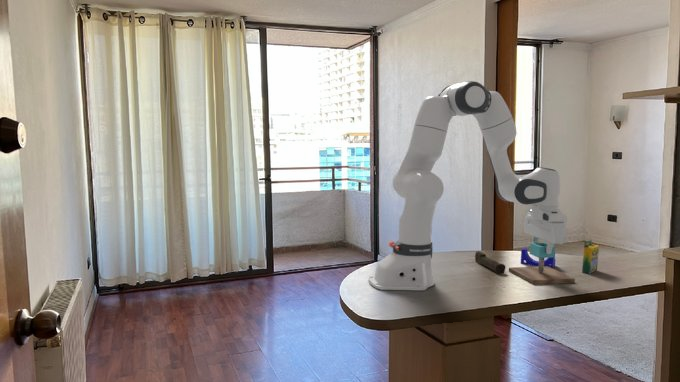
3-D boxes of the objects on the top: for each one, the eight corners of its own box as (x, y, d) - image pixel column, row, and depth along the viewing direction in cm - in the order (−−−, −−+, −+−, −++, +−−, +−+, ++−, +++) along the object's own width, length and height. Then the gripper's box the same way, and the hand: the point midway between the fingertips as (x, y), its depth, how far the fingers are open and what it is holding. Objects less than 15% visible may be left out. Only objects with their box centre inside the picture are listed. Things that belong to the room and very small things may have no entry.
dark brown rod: (505, 274, 180) (506, 262, 180) (495, 274, 180) (496, 262, 179) (481, 261, 199) (482, 250, 198) (472, 261, 198) (473, 250, 198)
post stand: (532, 284, 168) (534, 257, 167) (508, 271, 183) (510, 246, 182) (574, 282, 170) (576, 256, 169) (547, 270, 186) (549, 245, 185)
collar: (538, 257, 173) (539, 246, 172) (529, 253, 178) (530, 243, 178) (554, 257, 174) (555, 246, 173) (544, 253, 179) (545, 242, 179)
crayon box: (590, 274, 181) (592, 243, 180) (581, 272, 184) (583, 242, 182) (597, 270, 186) (599, 240, 185) (589, 269, 188) (591, 239, 187)
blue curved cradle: (555, 266, 192) (556, 251, 191) (552, 269, 188) (553, 253, 188) (523, 261, 199) (524, 247, 198) (520, 264, 195) (521, 249, 194)
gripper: (520, 208, 184) (518, 244, 185) (553, 218, 164) (550, 258, 165) (535, 208, 185) (533, 244, 186) (570, 217, 165) (567, 257, 166)
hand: (541, 251), depth 176 cm, fingers closed on collar, 6 cm apart
